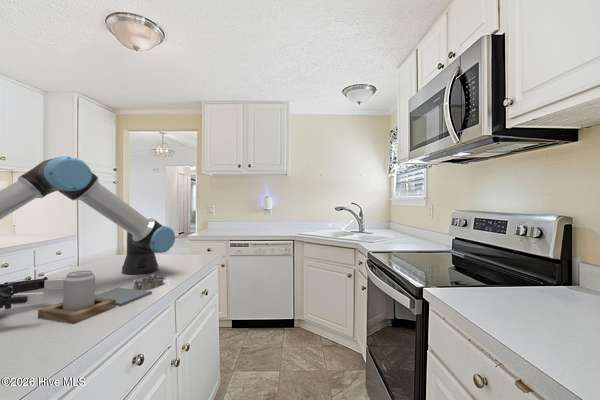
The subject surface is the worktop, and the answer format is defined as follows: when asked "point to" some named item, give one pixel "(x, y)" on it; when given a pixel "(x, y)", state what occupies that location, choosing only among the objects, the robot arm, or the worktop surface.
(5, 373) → the worktop surface
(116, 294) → the mat
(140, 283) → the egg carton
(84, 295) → the can
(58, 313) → the frame
